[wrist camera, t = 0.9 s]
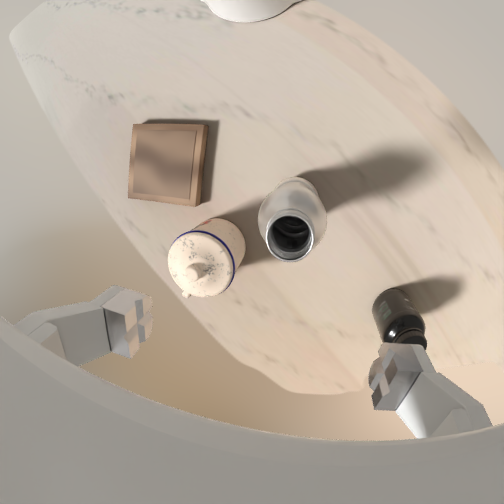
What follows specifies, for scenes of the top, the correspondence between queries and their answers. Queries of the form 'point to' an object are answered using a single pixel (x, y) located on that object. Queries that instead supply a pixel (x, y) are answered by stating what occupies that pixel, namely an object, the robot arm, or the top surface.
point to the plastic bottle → (292, 219)
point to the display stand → (167, 163)
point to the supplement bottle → (398, 319)
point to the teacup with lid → (206, 258)
